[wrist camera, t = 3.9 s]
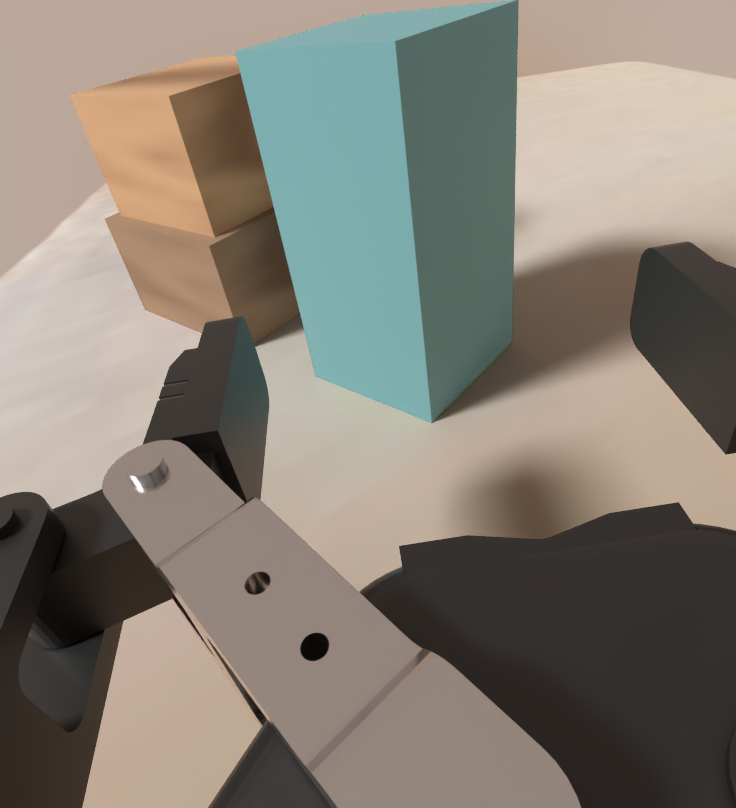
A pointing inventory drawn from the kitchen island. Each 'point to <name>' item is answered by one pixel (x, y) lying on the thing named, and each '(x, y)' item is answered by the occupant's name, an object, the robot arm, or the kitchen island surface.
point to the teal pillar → (395, 193)
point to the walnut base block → (210, 272)
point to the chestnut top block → (179, 146)
